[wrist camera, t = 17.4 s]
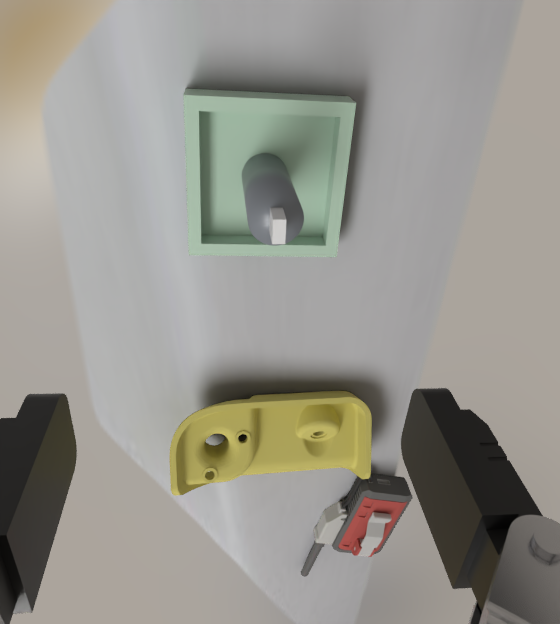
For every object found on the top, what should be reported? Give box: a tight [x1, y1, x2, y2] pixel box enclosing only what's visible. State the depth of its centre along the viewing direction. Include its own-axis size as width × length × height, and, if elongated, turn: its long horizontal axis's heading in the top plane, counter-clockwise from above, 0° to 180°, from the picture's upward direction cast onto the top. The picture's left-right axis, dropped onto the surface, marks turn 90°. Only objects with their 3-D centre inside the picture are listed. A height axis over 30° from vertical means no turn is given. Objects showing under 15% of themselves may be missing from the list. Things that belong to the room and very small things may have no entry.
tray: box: [184, 88, 356, 257], centre depth 41 cm, size 12×12×3 cm
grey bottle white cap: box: [242, 153, 304, 246], centre depth 37 cm, size 4×4×11 cm
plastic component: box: [170, 391, 372, 495], centre depth 55 cm, size 20×7×10 cm
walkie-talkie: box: [301, 473, 412, 576], centre depth 65 cm, size 9×4×20 cm
